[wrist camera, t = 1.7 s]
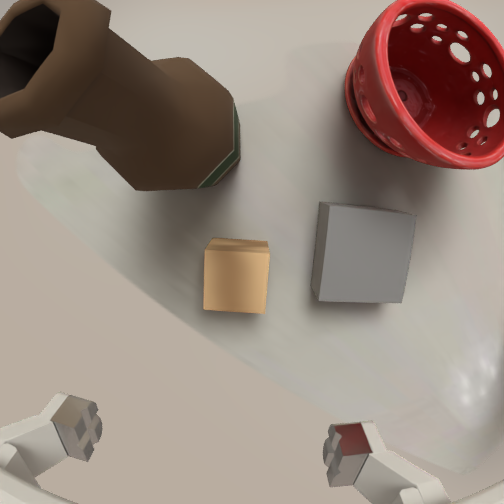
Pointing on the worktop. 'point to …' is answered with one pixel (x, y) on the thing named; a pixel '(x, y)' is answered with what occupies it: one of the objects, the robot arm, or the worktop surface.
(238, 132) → the beer bottle
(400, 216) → the block
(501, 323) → the worktop surface
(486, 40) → the plant pot
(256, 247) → the oak cube
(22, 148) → the worktop surface
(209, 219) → the worktop surface
